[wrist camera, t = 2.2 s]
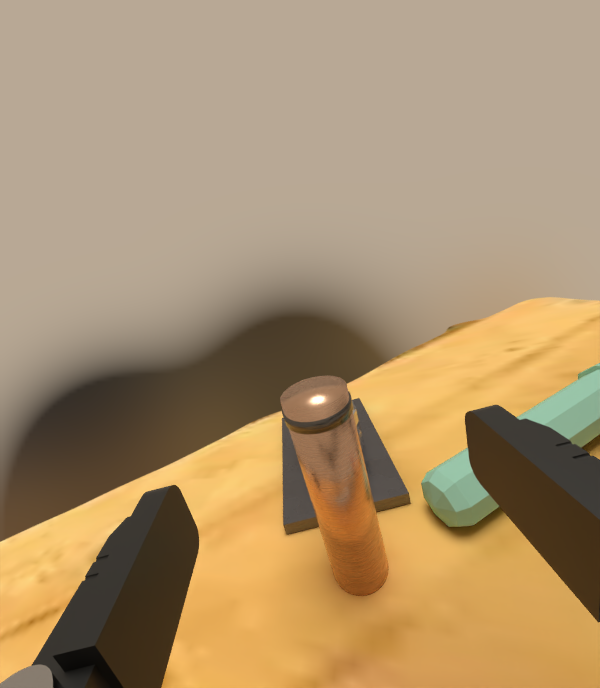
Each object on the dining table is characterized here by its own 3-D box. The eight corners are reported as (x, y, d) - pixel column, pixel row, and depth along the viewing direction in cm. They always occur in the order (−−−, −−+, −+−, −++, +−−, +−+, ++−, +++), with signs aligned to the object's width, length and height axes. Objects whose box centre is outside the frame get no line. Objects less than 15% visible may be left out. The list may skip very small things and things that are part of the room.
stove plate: (360, 405, 47) (352, 369, 46) (410, 503, 29) (400, 451, 27) (284, 424, 48) (273, 390, 46) (286, 534, 29) (269, 484, 28)
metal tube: (379, 533, 27) (340, 369, 22) (398, 588, 23) (355, 399, 18) (328, 546, 27) (278, 385, 22) (337, 603, 23) (278, 419, 18)
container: (443, 482, 23) (636, 359, 31) (400, 466, 29) (571, 365, 36) (476, 558, 23) (663, 415, 30) (426, 526, 29) (593, 412, 36)
